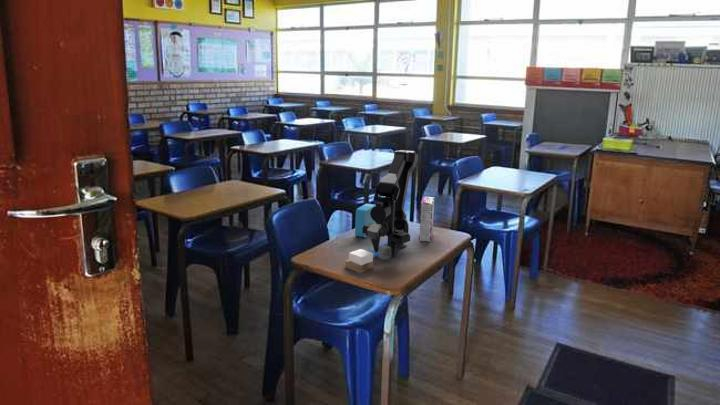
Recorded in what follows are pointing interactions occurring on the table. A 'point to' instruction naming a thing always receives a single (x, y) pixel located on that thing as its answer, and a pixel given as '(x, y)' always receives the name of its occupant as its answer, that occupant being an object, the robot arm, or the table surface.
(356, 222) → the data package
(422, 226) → the candy bar box
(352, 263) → the bottom block
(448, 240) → the table surface
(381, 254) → the spool
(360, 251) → the top block
